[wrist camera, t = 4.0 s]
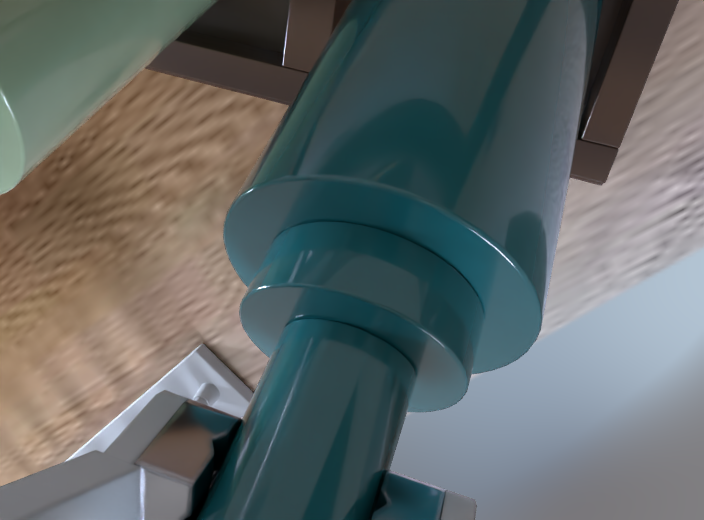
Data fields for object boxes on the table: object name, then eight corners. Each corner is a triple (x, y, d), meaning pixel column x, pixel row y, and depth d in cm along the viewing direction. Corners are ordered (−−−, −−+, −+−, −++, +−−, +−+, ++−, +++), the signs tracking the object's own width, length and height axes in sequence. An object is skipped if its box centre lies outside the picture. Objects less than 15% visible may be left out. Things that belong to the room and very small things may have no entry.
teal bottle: (402, -170, 16) (-61, 500, 7) (650, -128, 15) (521, 743, 6) (386, 38, 21) (117, 573, 12) (569, 80, 20) (431, 705, 11)
